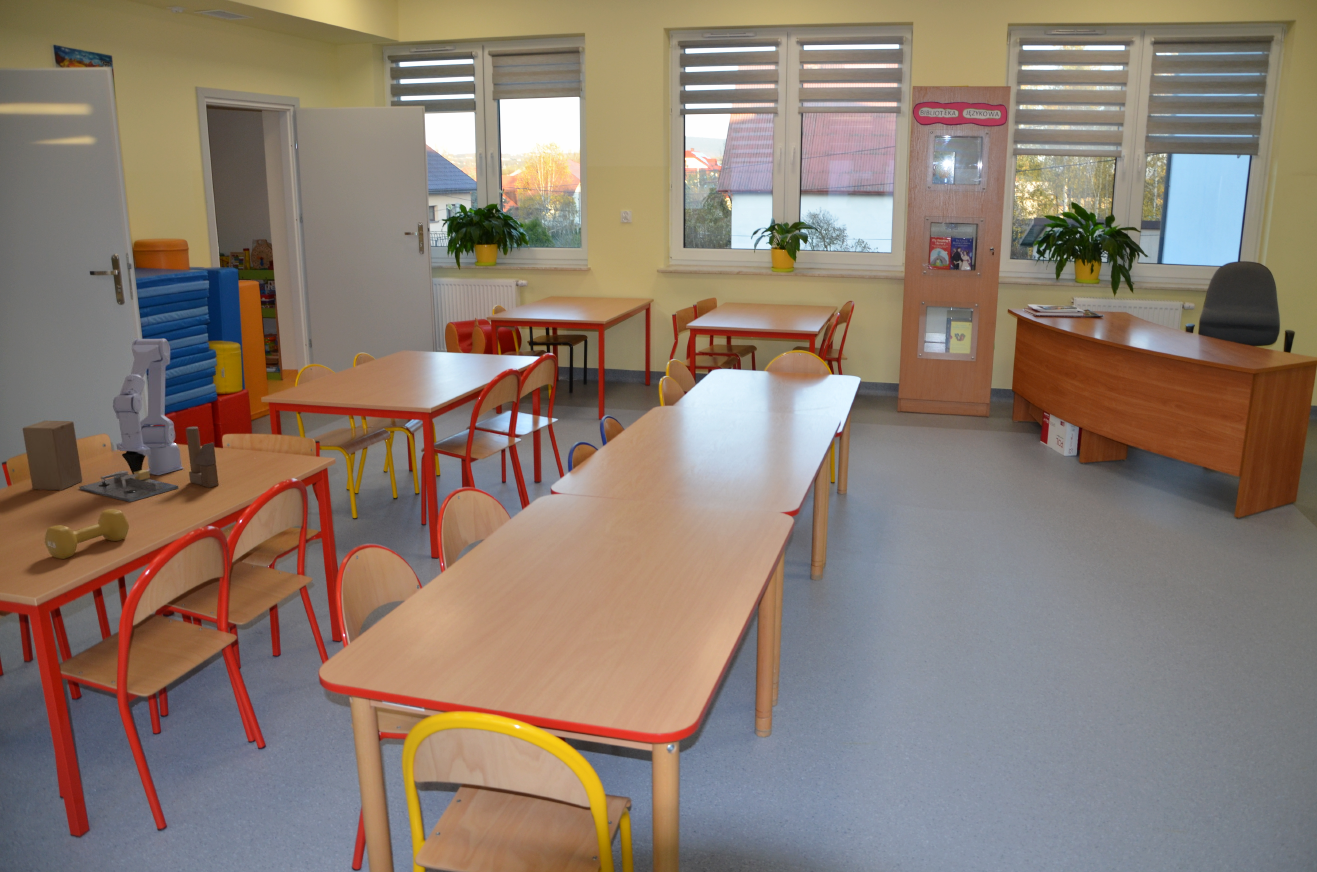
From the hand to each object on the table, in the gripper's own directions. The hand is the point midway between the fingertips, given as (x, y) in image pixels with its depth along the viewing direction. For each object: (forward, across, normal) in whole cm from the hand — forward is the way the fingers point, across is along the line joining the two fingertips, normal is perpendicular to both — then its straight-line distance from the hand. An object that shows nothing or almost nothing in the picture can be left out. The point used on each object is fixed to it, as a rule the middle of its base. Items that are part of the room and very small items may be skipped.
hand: (137, 474), depth 304 cm
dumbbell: (+4, +40, -39) cm, 56 cm away
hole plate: (+4, 0, -3) cm, 5 cm away
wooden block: (+4, -23, -12) cm, 27 cm away
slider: (+3, +2, -2) cm, 4 cm away
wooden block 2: (+4, +16, +12) cm, 20 cm away
